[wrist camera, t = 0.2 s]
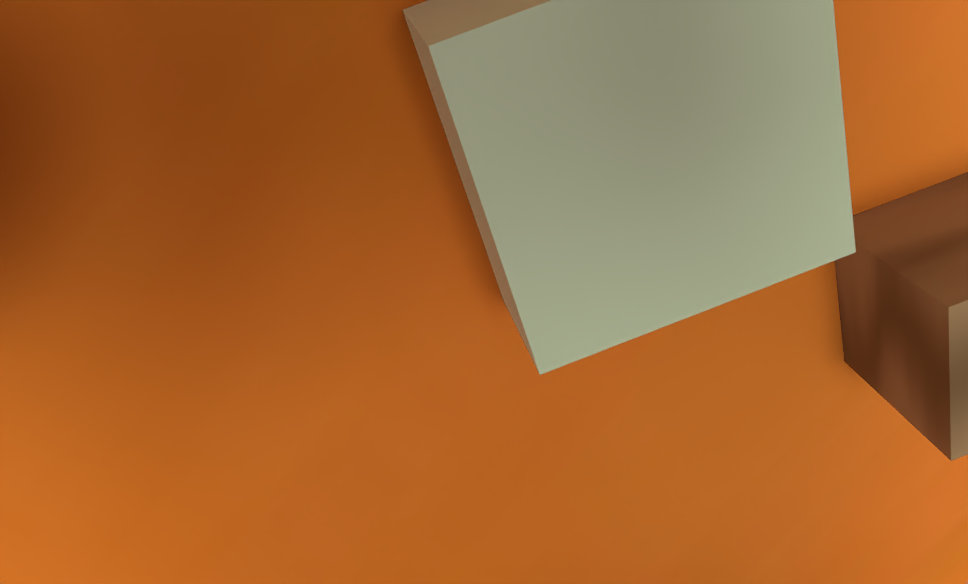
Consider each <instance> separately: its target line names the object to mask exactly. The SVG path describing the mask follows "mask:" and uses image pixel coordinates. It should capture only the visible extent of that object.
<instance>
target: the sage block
mask: <svg viewBox="0 0 968 584" xmlns="http://www.w3.org/2000/svg"><path fill="white" fill-rule="evenodd" d="M403 13H404V16H405V19H406V22H407V25H408V28H409V30H410V33H411V36H412V39H413V42H414V45H415V48H416V51H417V53H418V56H419V59H420V62H421V65H422V68H423V71H424V74H425V76H426V79H427V82H428V85H429V88H430V91H431V94H432V97H433V99H434V102H435V105H436V108H437V111H438V114H439V117H440V120H441V122H442V125H443V128H444V131H445V134H446V137H447V140H448V143H449V145H450V148H451V151H452V154H453V157H454V160H455V163H456V165H457V168H458V171H459V174H460V177H461V180H462V183H463V186H464V188H465V191H466V194H467V197H468V200H469V203H470V206H471V209H472V211H473V214H474V217H475V220H476V223H477V226H478V229H479V232H480V234H481V237H482V240H483V243H484V246H485V249H486V252H487V255H488V257H489V260H490V263H491V266H492V269H493V272H494V275H495V278H496V280H497V283H498V286H499V289H500V292H501V295H502V298H503V300H504V302H505V304H506V306H507V309H508V311H509V313H510V315H511V317H512V319H513V321H514V323H515V325H516V327H517V329H518V331H519V333H520V335H521V337H522V339H523V341H524V343H525V345H526V347H527V349H528V352H529V354H530V356H531V358H532V360H533V362H534V364H535V366H536V368H537V370H538V372H539V374H540V375H541V374H543V373H546V372H549V371H551V370H554V369H556V368H559V367H562V366H564V365H567V364H569V363H572V362H574V361H577V360H580V359H582V358H585V357H587V356H590V355H592V354H595V353H598V352H600V351H603V350H605V349H608V348H610V347H613V346H616V345H618V344H621V343H623V342H626V341H628V340H631V339H634V338H636V337H639V336H641V335H644V334H647V333H649V332H652V331H654V330H657V329H659V328H662V327H665V326H667V325H670V324H672V323H675V322H677V321H680V320H683V319H685V318H688V317H690V316H693V315H695V314H698V313H701V312H703V311H706V310H708V309H711V308H713V307H716V306H719V305H721V304H724V303H726V302H729V301H732V300H734V299H737V298H739V297H742V296H744V295H747V294H750V293H752V292H755V291H757V290H760V289H762V288H765V287H768V286H770V285H773V284H775V283H778V282H780V281H783V280H786V279H788V278H791V277H793V276H796V275H798V274H801V273H804V272H806V271H809V270H811V269H814V268H817V267H819V266H822V265H824V264H827V263H829V262H832V261H835V260H837V259H840V258H842V257H845V256H847V255H850V254H853V253H855V252H856V248H855V237H854V226H853V215H852V204H851V193H850V182H849V171H848V160H847V149H846V138H845V127H844V116H843V104H842V93H841V82H840V71H839V60H838V49H837V38H836V27H835V16H834V5H833V0H427V1H425V2H422V3H419V4H417V5H414V6H411V7H408V8H406V9H403Z"/></svg>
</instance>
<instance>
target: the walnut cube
mask: <svg viewBox="0 0 968 584" xmlns="http://www.w3.org/2000/svg"><path fill="white" fill-rule="evenodd" d="M853 226H854V237H855V248H856V252H855V253H853V254H850V255H847V256H845V257H842V258H840V259H837V260H835V269H836V279H837V289H838V300H839V310H840V320H841V331H842V341H843V351H844V361H845V362H846V363H847V364H848V365H849V366H850V367H851V368H852V369H853V370H854V371H855V372H857V373H858V374H859V375H860V376H861V377H862V378H863V379H864V380H865V381H866V382H867V383H868V384H869V385H870V386H872V387H873V388H874V389H875V390H876V391H877V392H878V393H879V394H880V395H881V396H882V397H883V398H884V399H885V400H887V401H888V402H889V403H890V404H891V405H892V406H893V407H894V408H895V409H896V410H897V411H898V412H899V413H900V414H901V415H903V416H904V417H905V418H906V419H907V420H908V421H909V422H910V423H911V424H912V425H913V426H914V427H915V428H916V429H918V430H919V431H920V432H921V433H922V434H923V435H924V436H925V437H926V438H927V439H928V440H929V441H930V442H931V443H933V444H934V445H935V446H936V447H937V448H938V449H939V450H940V451H941V452H942V453H943V454H944V455H945V456H946V457H948V458H949V459H950V460H951V461H952V460H954V459H957V458H959V457H962V456H964V455H967V454H968V172H967V173H964V174H962V175H959V176H957V177H954V178H951V179H949V180H946V181H943V182H941V183H938V184H935V185H933V186H930V187H927V188H925V189H922V190H919V191H917V192H914V193H912V194H909V195H906V196H904V197H901V198H898V199H896V200H893V201H890V202H888V203H885V204H882V205H880V206H877V207H874V208H872V209H869V210H867V211H864V212H861V213H859V214H856V215H853Z"/></svg>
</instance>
